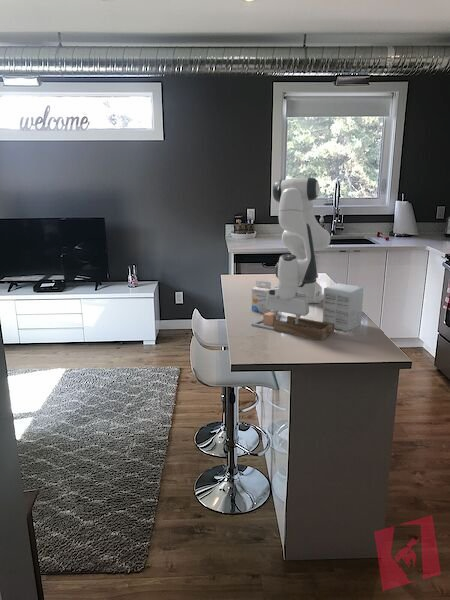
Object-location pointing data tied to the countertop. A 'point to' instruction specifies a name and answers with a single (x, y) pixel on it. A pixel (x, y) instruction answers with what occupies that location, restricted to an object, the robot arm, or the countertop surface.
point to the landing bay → (266, 326)
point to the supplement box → (343, 306)
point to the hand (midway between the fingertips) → (286, 321)
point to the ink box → (260, 296)
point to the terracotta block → (269, 319)
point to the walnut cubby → (305, 332)
